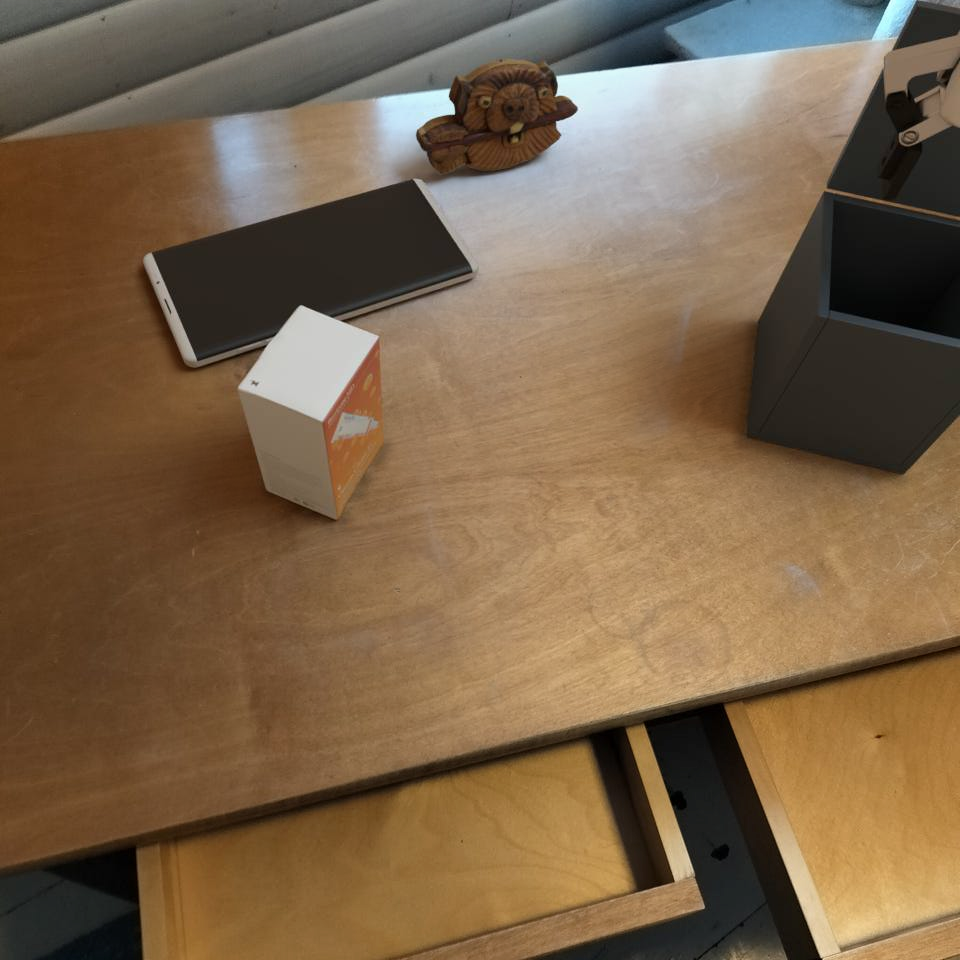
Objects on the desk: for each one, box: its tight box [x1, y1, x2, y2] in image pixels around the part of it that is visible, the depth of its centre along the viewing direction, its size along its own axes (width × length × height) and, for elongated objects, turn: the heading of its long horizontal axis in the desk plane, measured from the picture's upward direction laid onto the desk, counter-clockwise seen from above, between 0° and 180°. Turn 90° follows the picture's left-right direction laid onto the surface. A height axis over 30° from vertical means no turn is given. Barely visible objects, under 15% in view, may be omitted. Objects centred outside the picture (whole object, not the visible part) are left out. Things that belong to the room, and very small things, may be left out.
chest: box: [745, 190, 960, 475], centre depth 67 cm, size 13×13×15 cm
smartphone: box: [142, 178, 480, 369], centre depth 76 cm, size 13×27×2 cm, turn 117°
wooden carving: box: [415, 58, 579, 175], centre depth 82 cm, size 16×5×10 cm, turn 118°
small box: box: [237, 305, 385, 521], centre depth 61 cm, size 8×6×13 cm
